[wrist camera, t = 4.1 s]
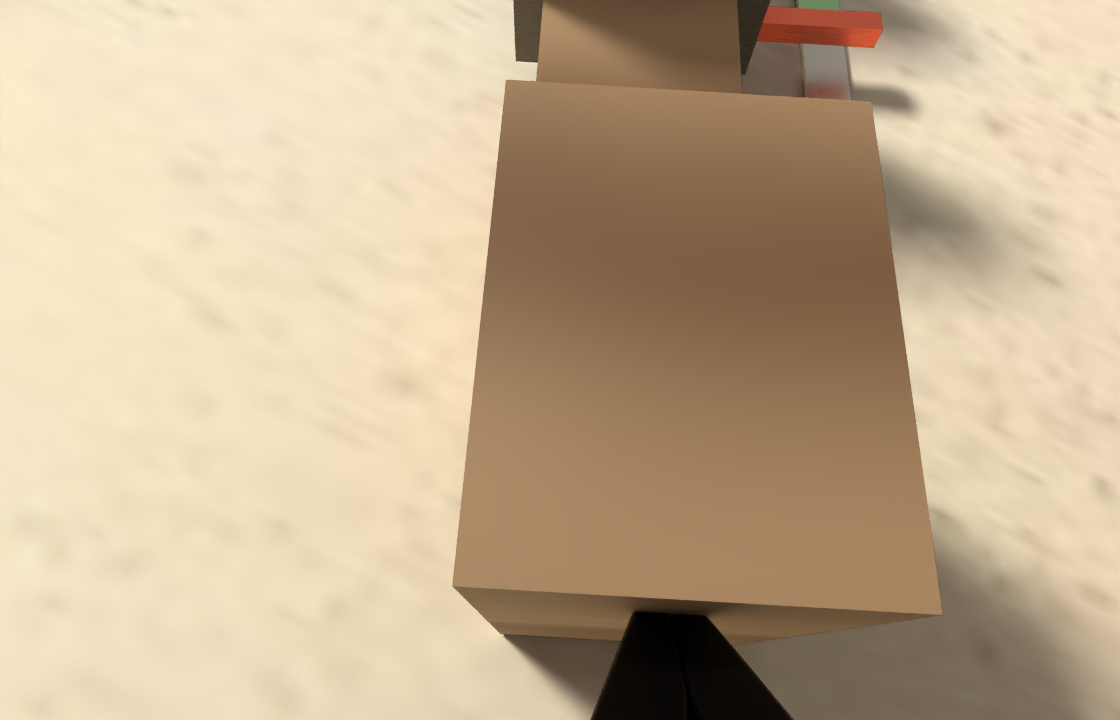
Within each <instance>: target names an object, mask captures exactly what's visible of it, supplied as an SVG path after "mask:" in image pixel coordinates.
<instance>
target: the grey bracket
mask: <svg viewBox="0 0 1120 720" xmlns="http://www.w3.org/2000/svg"><path fill="white" fill-rule="evenodd" d="M513 1H514V25H515V50H516V61H521V62H538V56H539V44H540V32H541V21H542V9H543V0H513ZM769 3H770V0H737V8H738V27H739V45H740V64H741V74H742V75H745V73H746V70H747V67H748V64H749V61H750V58H751V56H752V53H753V50H754V47H755V44H756V41H767V42H784V43H801V44H818V45H834V46H851V47H868V48H874V46H875V44H876V42H877V40H878V38H879V36H880V34H881V33H882V31H883V27H882V21H881V14H880V13H873V12H856V11H839V10H822V9H805V8H788V7H771V6H769Z"/></svg>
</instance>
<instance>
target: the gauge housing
mask: <svg viewBox="0 0 1120 720" xmlns="http://www.w3.org/2000/svg"><path fill="white" fill-rule="evenodd" d="M796 8H805V9H822V10H839V11H840V7H839V0H796ZM800 51H801V62H802V72H803V83H804V94H805V98H821V99H838V100H851V94H850V87H849V79H848V71H847V63H846V55H845V47H844V46H834V45H818V44H801V43H800Z"/></svg>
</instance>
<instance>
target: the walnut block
mask: <svg viewBox="0 0 1120 720" xmlns="http://www.w3.org/2000/svg"><path fill="white" fill-rule="evenodd" d="M453 587H454V588H455V589H456V590H457V591H458V592H459V593H460V594H461V595H462V596H463V597H464V598H465V599H466V600H467V601H468V602H469V603H470V604H471V605H472V606H473V607H474V608H475V609H476V610H477V611H478V612H479V613H480V614H481V615H482V616H483V617H484V618H485V619H486V620H487V621H488V622H489V623H490V624H491V625H492V626H493V627H494V628H495V629H496V630H497V631H498V632H499V633H500V634H510V635H527V636H544V637H561V638H578V639H595V640H612V641H621V640H622V637H623V635H624V632H625V629H626V627H627V624H628V622H629V619H630V617H631V614H632V613H633V612H652V613H667V614H668V615H670V614H687V615H704V616H707V617H708V618H709V619H710V620H711V621H712V623H713V624H714V625H715V626H716V627H717V629H718V630H719V631H720V632H721V633H722V635H723V636H724V637H725V638H726V639H727V641H728V642H729V643H730V644H731V645H739V644H745V643H752V642H759V641H766V640H773V639H780V638H787V637H794V636H801V635H808V634H815V633H822V632H829V631H835V630H842V629H849V628H856V627H863V626H870V625H877V624H884V623H891V622H898V621H905V620H912V619H919V618H925V617H932V616H939V615H943V614H942V607H941V599H940V592H939V585H938V578H937V571H936V563H935V556H934V549H933V542H932V535H931V527H930V520H929V513H928V506H927V499H926V491H925V484H924V477H923V470H922V463H921V456H920V448H919V441H918V434H917V427H916V420H915V412H914V405H913V398H912V391H911V384H910V376H909V369H908V362H907V355H906V348H905V341H904V333H903V326H902V319H901V312H900V305H899V297H898V290H897V283H896V276H895V269H894V261H893V254H892V247H891V240H890V233H889V225H888V218H887V211H886V204H885V197H884V190H883V182H882V175H881V168H880V161H879V154H878V146H877V139H876V132H875V125H874V118H873V110H872V103H871V101H855V100H838V99H821V98H805V97H788V96H771V95H754V94H742V83H741V64H740V45H739V27H738V8H737V0H543V9H542V21H541V32H540V44H539V56H538V68H537V79H536V81H519V80H506V86H505V95H504V105H503V114H502V123H501V133H500V142H499V152H498V161H497V171H496V180H495V190H494V199H493V208H492V218H491V227H490V237H489V246H488V256H487V265H486V274H485V284H484V293H483V303H482V312H481V322H480V331H479V341H478V350H477V359H476V369H475V378H474V388H473V397H472V407H471V416H470V425H469V435H468V444H467V454H466V463H465V473H464V482H463V492H462V501H461V510H460V520H459V529H458V539H457V548H456V558H455V567H454V577H453Z"/></svg>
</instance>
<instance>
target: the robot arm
mask: <svg viewBox="0 0 1120 720" xmlns="http://www.w3.org/2000/svg"><path fill="white" fill-rule="evenodd" d="M590 720H794V719H793V718H792V717H791V716H790V715H789V713H788V712H787V711H786V710H785V709H784V707H783V706H782V705H781V704H780V703H779V702H778V700H777V699H776V698H775V697H774V696H773V694H772V693H771V692H770V691H769V690H768V688H767V687H766V686H765V685H764V684H763V682H762V681H761V680H760V679H759V678H758V676H757V675H756V674H755V673H754V672H753V670H752V669H751V668H750V667H749V666H748V664H747V663H746V662H745V661H744V660H743V658H742V657H741V656H740V655H739V654H738V652H737V651H736V650H735V649H734V648H733V647H732V645H731V644H730V643H729V642H728V641H727V639H726V638H725V637H724V636H723V635H722V633H721V632H720V631H719V630H718V629H717V627H716V626H715V625H714V624H713V623H712V621H711V620H710V619H709V618H708V617H707V616H704V615H687V614H670V615H668V614H667V613H652V612H633V613H632V614H631V617H630V619H629V622H628V624H627V627H626V629H625V632H624V635H623V637H622V640H621V642H620V645H619V647H618V650H617V653H616V655H615V658H614V660H613V663H612V665H611V668H610V670H609V673H608V676H607V678H606V681H605V683H604V686H603V688H602V691H601V694H600V696H599V699H598V701H597V704H596V706H595V709H594V711H593V714H592V717H591V719H590Z"/></svg>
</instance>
